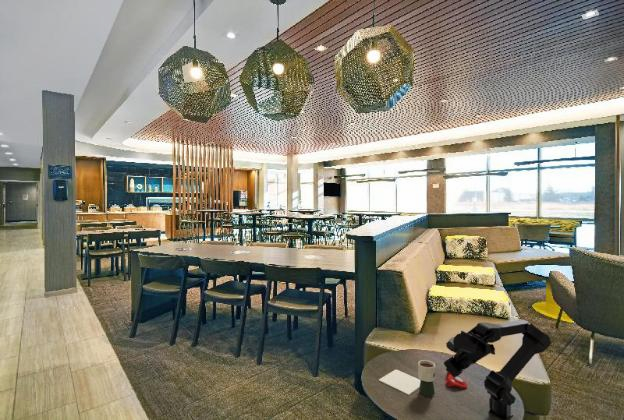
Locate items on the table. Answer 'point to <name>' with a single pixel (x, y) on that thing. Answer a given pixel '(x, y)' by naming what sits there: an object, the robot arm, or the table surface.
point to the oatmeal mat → (401, 381)
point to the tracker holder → (455, 381)
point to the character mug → (426, 377)
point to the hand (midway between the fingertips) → (446, 370)
